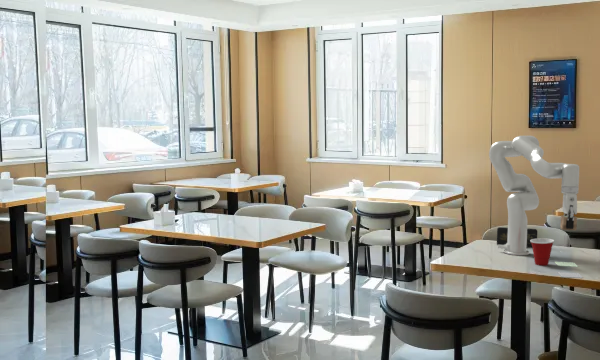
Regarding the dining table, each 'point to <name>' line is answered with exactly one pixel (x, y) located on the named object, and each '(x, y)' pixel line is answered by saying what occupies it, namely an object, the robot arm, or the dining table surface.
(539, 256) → the plastic cup
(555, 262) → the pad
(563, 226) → the letter block
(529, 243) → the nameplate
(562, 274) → the grey pad
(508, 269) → the dining table surface
